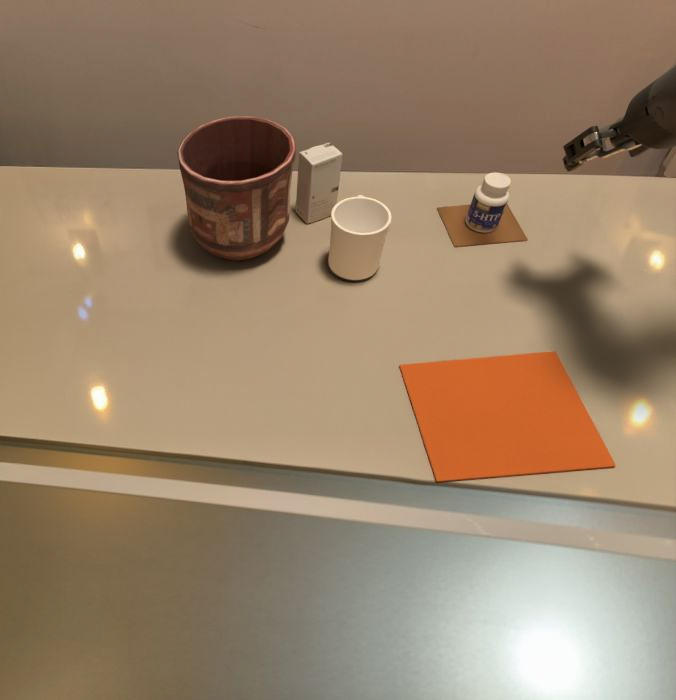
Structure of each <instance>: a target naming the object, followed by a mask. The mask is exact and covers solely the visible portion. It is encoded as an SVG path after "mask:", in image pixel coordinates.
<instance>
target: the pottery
mask: <svg viewBox="0 0 676 700" xmlns="http://www.w3.org/2000/svg"><path fill="white" fill-rule="evenodd" d="M296 154H297V146H296V139H295V137H294V136H293V135H292V133H291V132H290V131H289V130H288V129H287V128H286V126H283V125H281V124H279V123H277V122H275V121H272V120H271V119H266V118H260V117H258V116H257V117H256V116H252V115H251V116H250V115H249V116H248V115H247V116H228V117H223V118H218V119H214V120H211V121H209V122H206V123H204V124H201V125H199V126H198V127H196V128H195V129H193V130H191V131H190V132H189V133H188V134H187V135H186V136H185V137H184V139H182V141H181V142H180V144H179V146H178V149H177V160H178V165H179V172H180V176H181V179H182V184H183V190H184V195H185V203H186V204H185V205H186V213H187V219H188V224H189V229H190V231H191V234H192V235H193V237H194V238H195V240H196V241H197V243H198V244H199V246H201V248H202V249H204V250H205V251H207V252H208V253H209V254H212V255H213V256H215V257H218V258H221V259H224V260H227V261H245V260H251V259H253V258H254V259H255V258H256V257H258V256H260V255H263V254H265V253H267V252H268V251H269V250H270V249H271V248H273V247H274V246H275V245H276V244H277V243H278V242H279V241H280V240H281V239H282V237H283V235H284V233H285V231H286V229H287V227H288V224H289V221H290V215H291V186H292V178H293V171H294V167H295V166H294V165H295V161H296Z"/></svg>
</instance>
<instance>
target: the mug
mask: <svg viewBox="0 0 676 700" xmlns="http://www.w3.org/2000/svg"><path fill="white" fill-rule="evenodd" d="M391 212H392V211H391V210H390V209H389V207H388V206H387V205H386V204H384V202H382V201H379V200H377V199H375V198H371V197H368V196H367V197H366V196H365V195H363V194H358V195H357V196H352V197H347V198H345V199H341V200H340V201H338V202H337V204H336V205H335V206H334V208H333V209H332V213H331V216H330V237H329V238H330V239H329V249H328V260H327V263H328V268H329V270H330V272H331V274H333V275H334V276H335V277H337V278H338V279H340V280H342V281H345V282H351V283H360V282H365V281H367V280H369V279H371V278H372V277H374V276H375V275H376V274H377V272H378V270H379V266H380V262H381V258H382V254H383V250H384V246H385V242H386V237H387V234H388V232H389V228H390V226H391V223H392V213H391Z"/></svg>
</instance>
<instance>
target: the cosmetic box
mask: <svg viewBox="0 0 676 700" xmlns="http://www.w3.org/2000/svg"><path fill="white" fill-rule="evenodd" d="M343 156H344V155H343V152H341V150H339V149H338V148H336V147H335V146H334V145H333V144H332V143H331V142H326V143H323V144H320V145H315V146H312V147H310V148H308V149H304V150H302V151H299V154H298V164H297V165H298V166H297V180H296V181H297V182H296V196H295V197H296V199H295V213H296V214H297V215H298V216H299V217H300V219H302V221H303V222H304V223H305V224H311V223H315V222H318V221H320V220H323V219H326V218H329V217H331V213H332V209H333V208H334V206H335V205H336V204H337V203H338V196H339V186H340V180H341V171H342V163H343Z"/></svg>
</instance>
